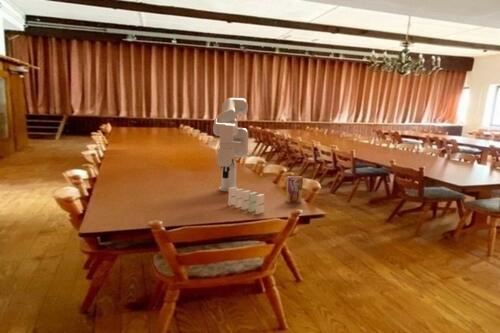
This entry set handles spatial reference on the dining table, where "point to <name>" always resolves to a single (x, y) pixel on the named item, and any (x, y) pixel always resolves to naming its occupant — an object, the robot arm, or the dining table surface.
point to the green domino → (252, 202)
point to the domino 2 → (238, 197)
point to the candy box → (294, 189)
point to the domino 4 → (260, 203)
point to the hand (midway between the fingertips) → (225, 177)
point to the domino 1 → (231, 196)
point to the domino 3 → (245, 200)
